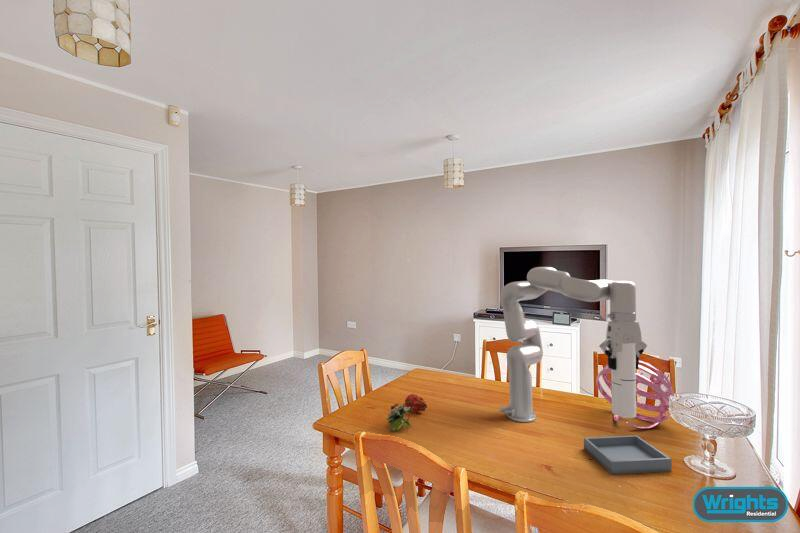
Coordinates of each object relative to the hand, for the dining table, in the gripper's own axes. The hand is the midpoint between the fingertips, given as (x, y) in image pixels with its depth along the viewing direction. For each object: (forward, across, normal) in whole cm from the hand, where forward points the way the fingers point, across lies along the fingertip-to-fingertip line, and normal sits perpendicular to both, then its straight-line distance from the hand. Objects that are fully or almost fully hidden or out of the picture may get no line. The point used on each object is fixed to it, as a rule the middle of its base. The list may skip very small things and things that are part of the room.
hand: (623, 368), depth 124 cm
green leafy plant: (+32, -76, +32) cm, 88 cm away
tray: (+32, 0, 0) cm, 32 cm away
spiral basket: (+32, +24, +27) cm, 48 cm away
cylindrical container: (+16, 0, 0) cm, 16 cm away
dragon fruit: (+32, -68, +47) cm, 89 cm away
